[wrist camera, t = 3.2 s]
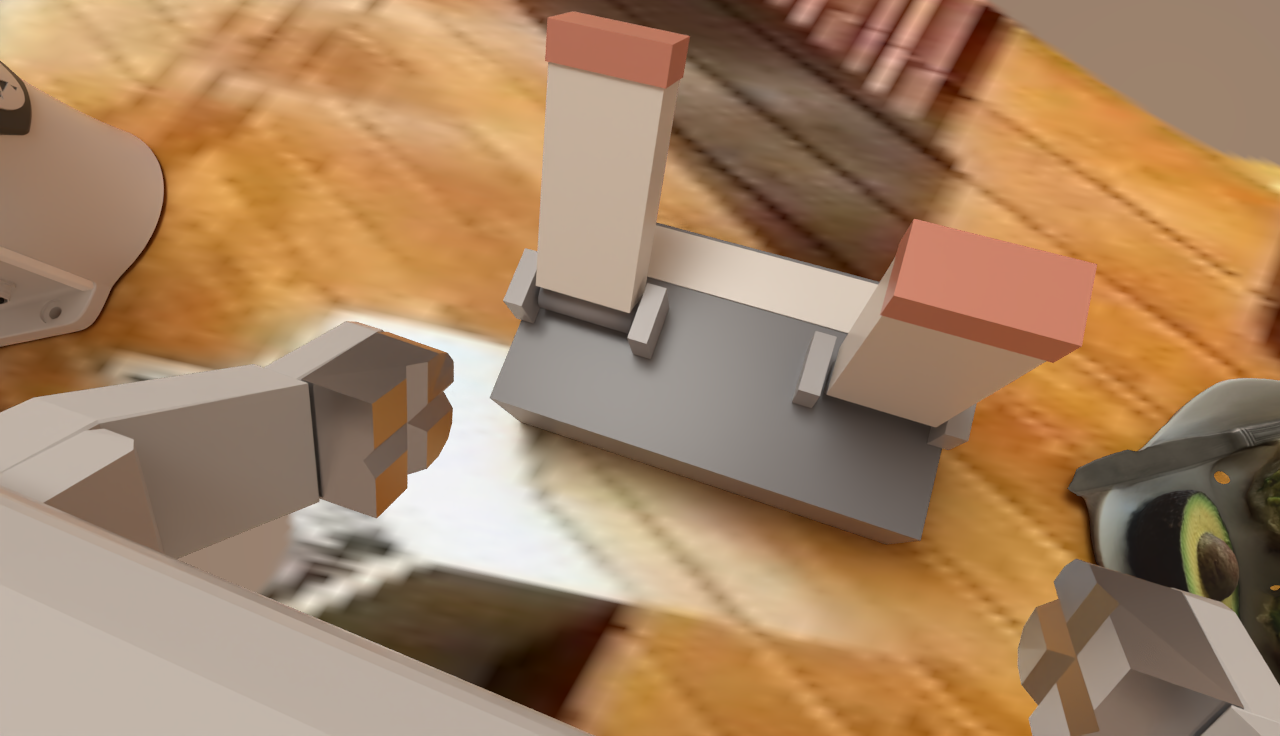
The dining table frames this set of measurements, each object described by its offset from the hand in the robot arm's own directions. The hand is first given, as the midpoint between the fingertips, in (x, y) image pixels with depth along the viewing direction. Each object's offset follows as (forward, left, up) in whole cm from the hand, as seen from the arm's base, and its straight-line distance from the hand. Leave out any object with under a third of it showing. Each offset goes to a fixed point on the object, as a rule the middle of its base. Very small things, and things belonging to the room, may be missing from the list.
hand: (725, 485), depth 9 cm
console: (+4, +8, -30) cm, 31 cm away
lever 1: (-1, +13, -23) cm, 26 cm away
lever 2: (+10, +4, -23) cm, 25 cm away
